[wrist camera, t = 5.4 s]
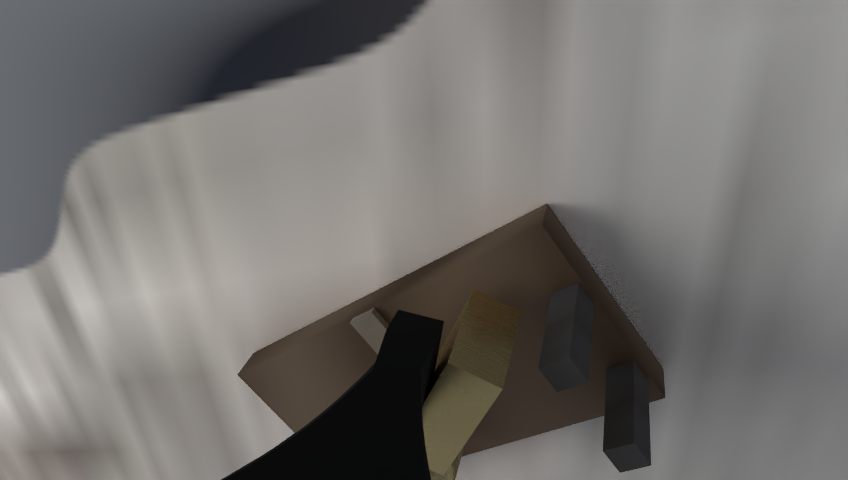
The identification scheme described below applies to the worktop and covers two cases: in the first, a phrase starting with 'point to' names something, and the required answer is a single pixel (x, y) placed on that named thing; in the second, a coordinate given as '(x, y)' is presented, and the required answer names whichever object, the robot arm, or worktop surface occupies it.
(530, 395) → the plate
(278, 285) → the worktop surface
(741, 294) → the worktop surface
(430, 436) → the bar
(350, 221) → the worktop surface
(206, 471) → the worktop surface
